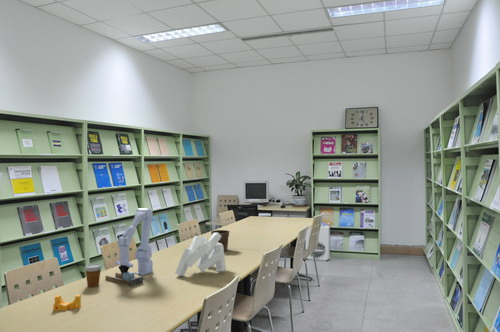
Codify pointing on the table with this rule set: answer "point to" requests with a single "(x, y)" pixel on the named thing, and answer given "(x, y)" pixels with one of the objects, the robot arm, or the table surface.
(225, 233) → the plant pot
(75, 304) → the pipe clamp
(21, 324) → the table surface
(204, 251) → the pile of blocks
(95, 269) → the disposable coffee cup
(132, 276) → the block
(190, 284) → the table surface
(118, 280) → the guide rail
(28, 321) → the table surface
